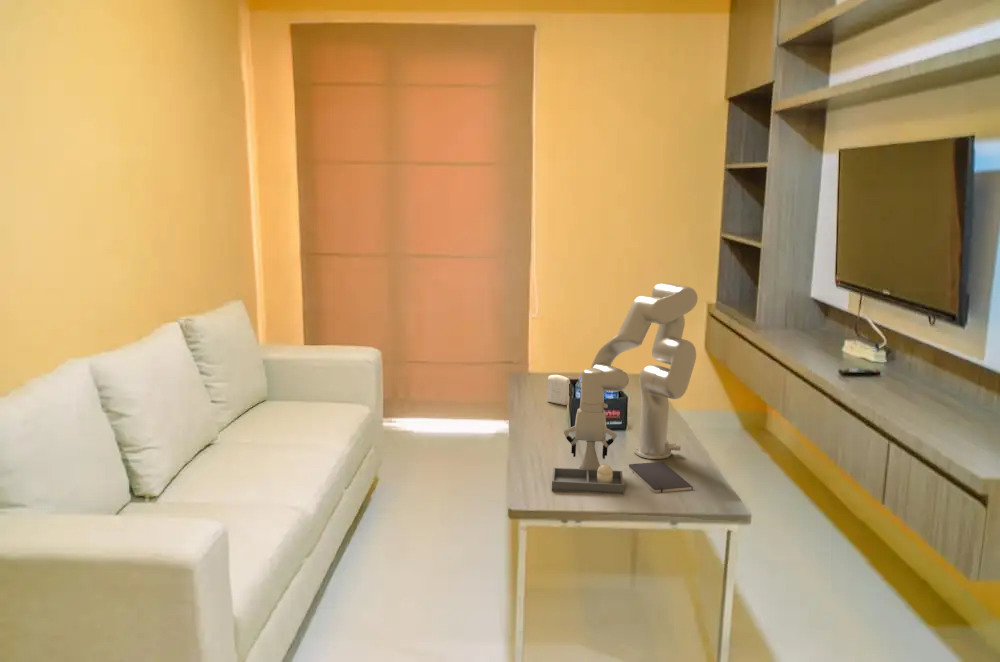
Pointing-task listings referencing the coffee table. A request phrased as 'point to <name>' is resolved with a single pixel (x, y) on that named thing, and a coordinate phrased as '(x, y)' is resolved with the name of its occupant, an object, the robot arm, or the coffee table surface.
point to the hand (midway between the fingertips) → (588, 456)
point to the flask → (590, 457)
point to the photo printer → (558, 389)
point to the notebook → (659, 477)
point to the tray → (585, 481)
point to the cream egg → (604, 474)
